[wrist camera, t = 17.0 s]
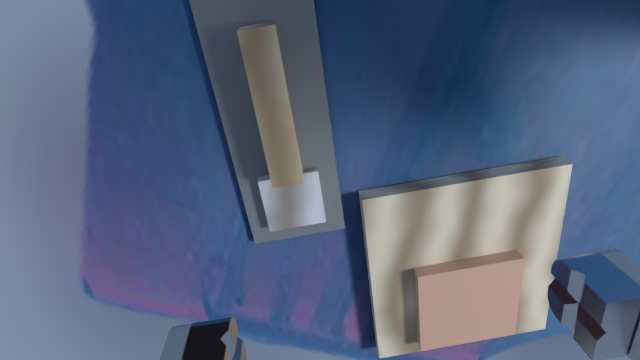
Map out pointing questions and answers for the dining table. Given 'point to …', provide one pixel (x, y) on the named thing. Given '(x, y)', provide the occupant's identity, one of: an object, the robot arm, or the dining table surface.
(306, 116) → the mat
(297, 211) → the turner
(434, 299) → the tile
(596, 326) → the robot arm
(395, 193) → the board
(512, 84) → the dining table surface
